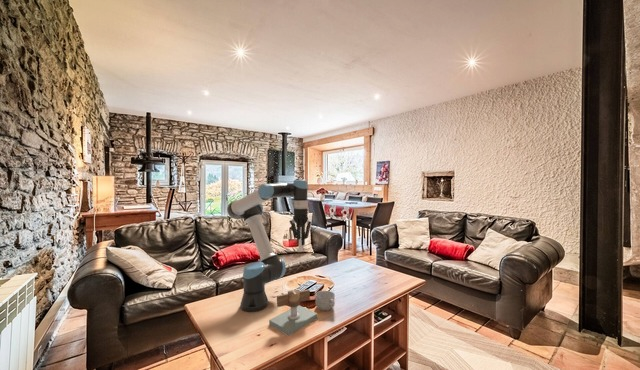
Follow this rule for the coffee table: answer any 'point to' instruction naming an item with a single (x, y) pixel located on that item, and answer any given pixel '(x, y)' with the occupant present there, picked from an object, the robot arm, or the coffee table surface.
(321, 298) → the teacup
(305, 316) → the grey-green base
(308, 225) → the robot arm
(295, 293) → the knob
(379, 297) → the coffee table surface
